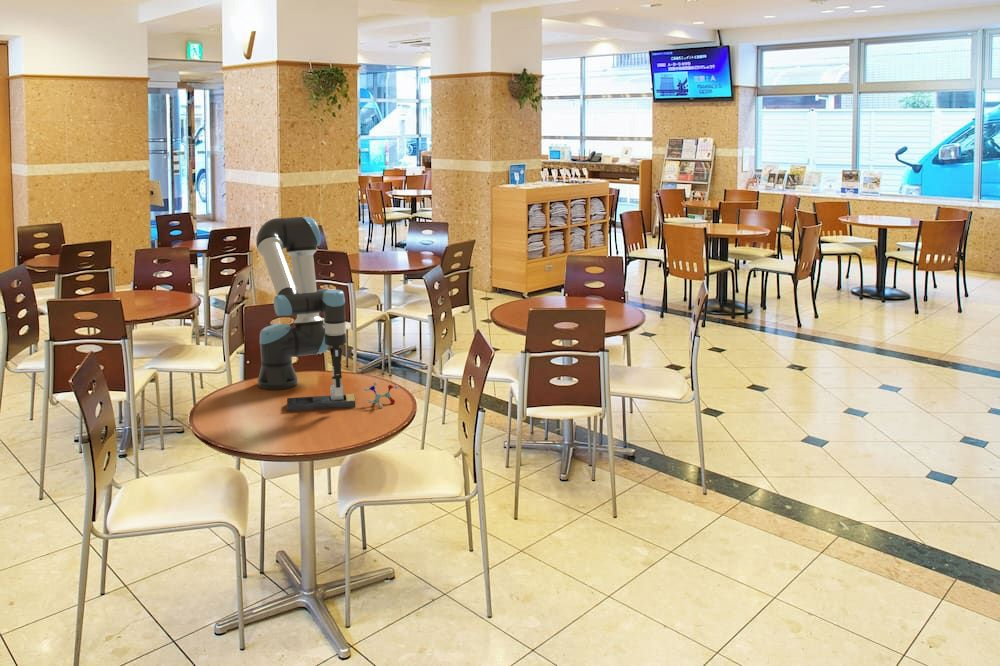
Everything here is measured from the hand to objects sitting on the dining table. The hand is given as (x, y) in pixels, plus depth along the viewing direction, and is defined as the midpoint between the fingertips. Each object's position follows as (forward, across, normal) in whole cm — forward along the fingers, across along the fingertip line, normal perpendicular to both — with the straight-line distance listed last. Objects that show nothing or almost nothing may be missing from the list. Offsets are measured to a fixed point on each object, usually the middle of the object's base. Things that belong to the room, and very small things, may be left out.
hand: (337, 389), depth 319 cm
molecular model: (+6, +2, +15) cm, 16 cm away
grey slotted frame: (+6, 0, -6) cm, 8 cm away
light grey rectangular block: (+6, 0, 0) cm, 6 cm away
